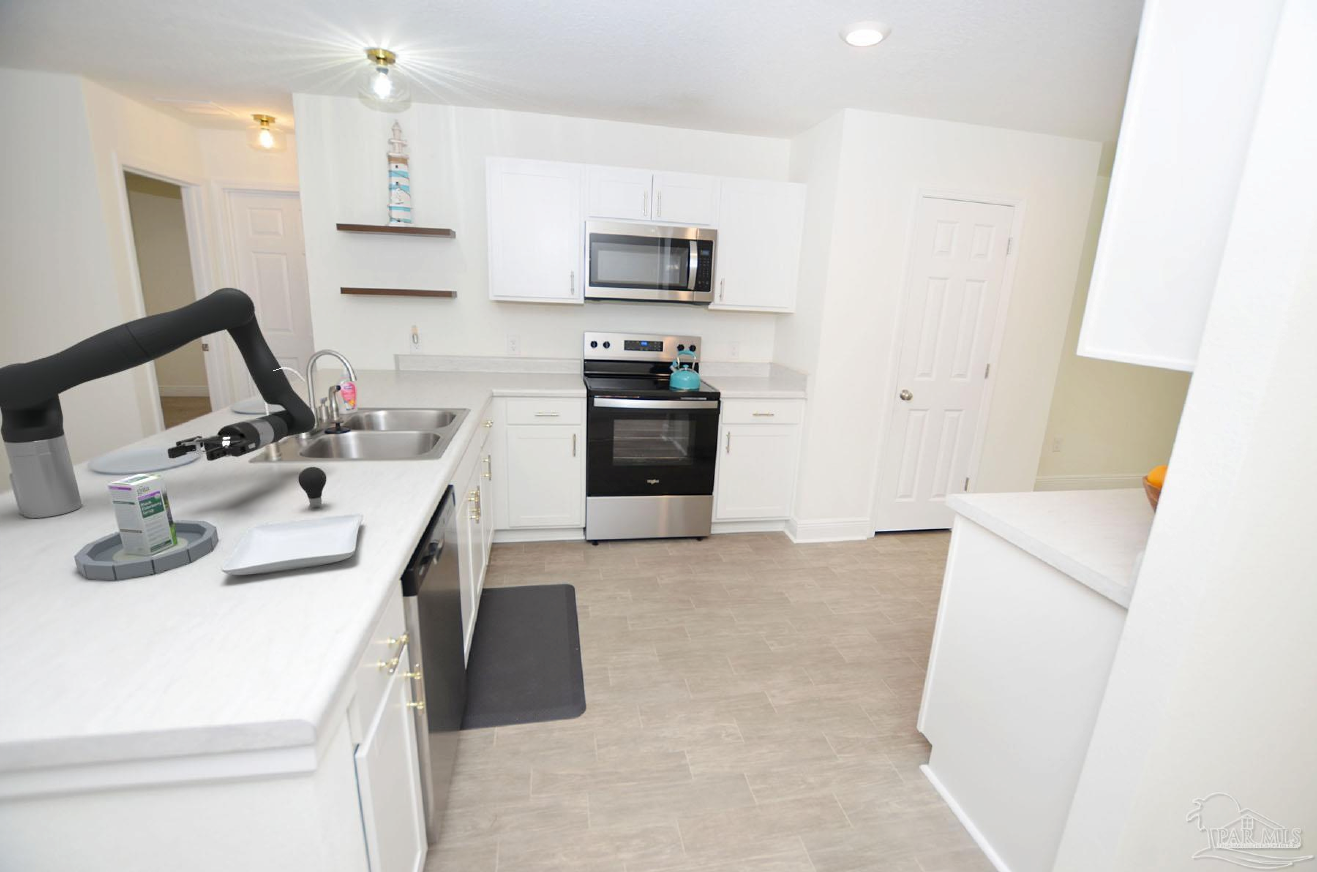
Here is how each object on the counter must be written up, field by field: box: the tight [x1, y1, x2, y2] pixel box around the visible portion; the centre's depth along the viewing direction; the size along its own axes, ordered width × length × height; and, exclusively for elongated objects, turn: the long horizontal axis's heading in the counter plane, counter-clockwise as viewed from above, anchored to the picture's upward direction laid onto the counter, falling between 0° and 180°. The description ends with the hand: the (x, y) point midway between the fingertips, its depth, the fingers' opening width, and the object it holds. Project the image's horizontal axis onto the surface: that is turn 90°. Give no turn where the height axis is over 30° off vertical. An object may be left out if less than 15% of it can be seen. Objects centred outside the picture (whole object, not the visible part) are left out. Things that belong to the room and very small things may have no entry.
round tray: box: [73, 519, 219, 581], centre depth 110 cm, size 20×20×3 cm
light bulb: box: [297, 466, 327, 509], centre depth 134 cm, size 6×6×10 cm
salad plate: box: [221, 513, 364, 576], centre depth 113 cm, size 21×21×3 cm
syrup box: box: [106, 473, 178, 556], centre depth 109 cm, size 6×6×14 cm
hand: (188, 455), depth 121 cm, fingers open, 8 cm apart
